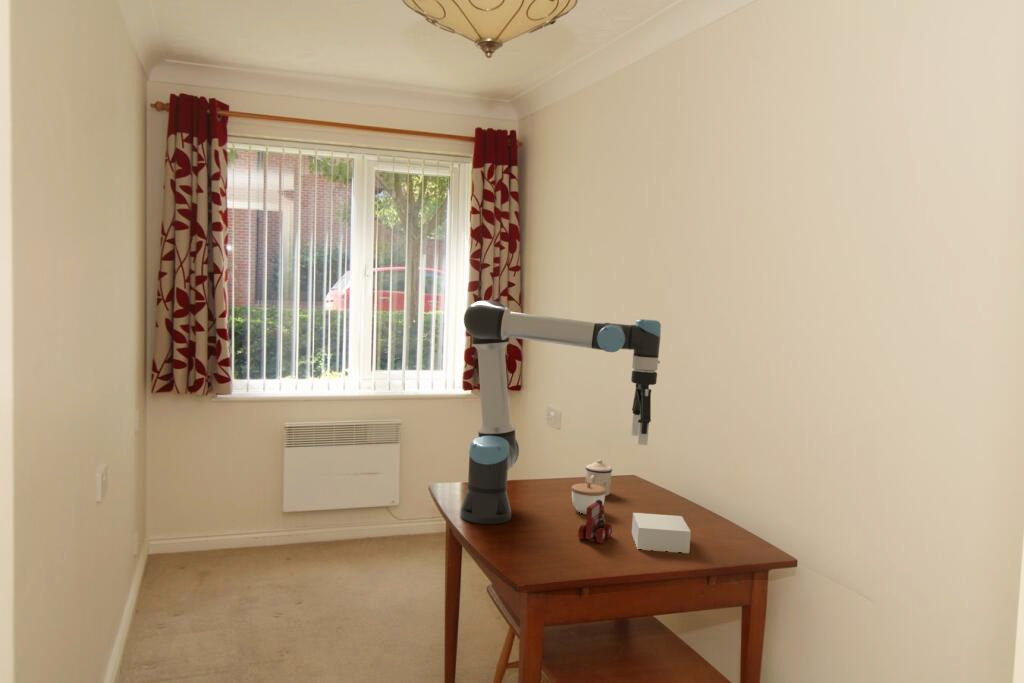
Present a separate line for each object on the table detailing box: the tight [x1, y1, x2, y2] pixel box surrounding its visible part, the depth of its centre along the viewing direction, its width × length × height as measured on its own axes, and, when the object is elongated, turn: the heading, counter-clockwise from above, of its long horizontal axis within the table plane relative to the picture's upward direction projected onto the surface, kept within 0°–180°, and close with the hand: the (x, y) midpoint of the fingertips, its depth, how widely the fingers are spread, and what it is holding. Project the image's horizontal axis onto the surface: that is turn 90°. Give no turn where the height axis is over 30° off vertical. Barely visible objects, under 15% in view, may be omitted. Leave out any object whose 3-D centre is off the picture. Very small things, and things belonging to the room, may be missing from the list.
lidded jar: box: [571, 482, 606, 515], centre depth 235 cm, size 11×11×9 cm
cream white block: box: [631, 512, 692, 554], centre depth 210 cm, size 14×14×6 cm
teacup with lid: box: [584, 459, 613, 497], centre depth 257 cm, size 12×9×12 cm
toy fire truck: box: [577, 500, 613, 544], centre depth 210 cm, size 7×12×10 cm, turn 153°
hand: (638, 440), depth 228 cm, fingers open, 13 cm apart
